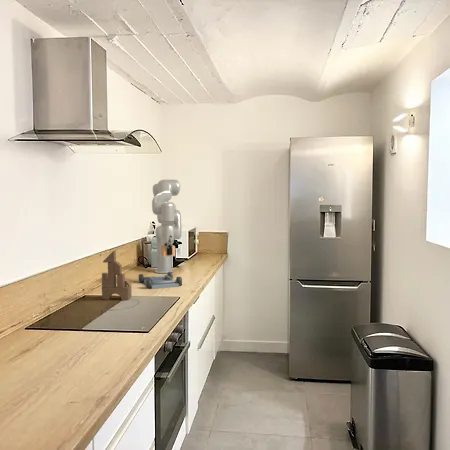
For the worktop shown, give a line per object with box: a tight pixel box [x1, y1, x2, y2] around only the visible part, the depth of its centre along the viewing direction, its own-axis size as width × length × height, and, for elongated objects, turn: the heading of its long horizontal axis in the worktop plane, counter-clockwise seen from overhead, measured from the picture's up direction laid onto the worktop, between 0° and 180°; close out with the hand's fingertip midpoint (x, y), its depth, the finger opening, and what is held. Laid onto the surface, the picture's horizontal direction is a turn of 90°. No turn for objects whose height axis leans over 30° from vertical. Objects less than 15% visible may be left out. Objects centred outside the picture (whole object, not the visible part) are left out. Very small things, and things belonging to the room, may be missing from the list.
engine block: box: [161, 245, 176, 257], centre depth 279 cm, size 5×7×6 cm
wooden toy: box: [101, 250, 133, 301], centre depth 240 cm, size 16×7×25 cm, turn 83°
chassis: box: [138, 272, 183, 290], centre depth 278 cm, size 24×20×5 cm
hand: (168, 254), depth 279 cm, fingers closed on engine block, 5 cm apart
